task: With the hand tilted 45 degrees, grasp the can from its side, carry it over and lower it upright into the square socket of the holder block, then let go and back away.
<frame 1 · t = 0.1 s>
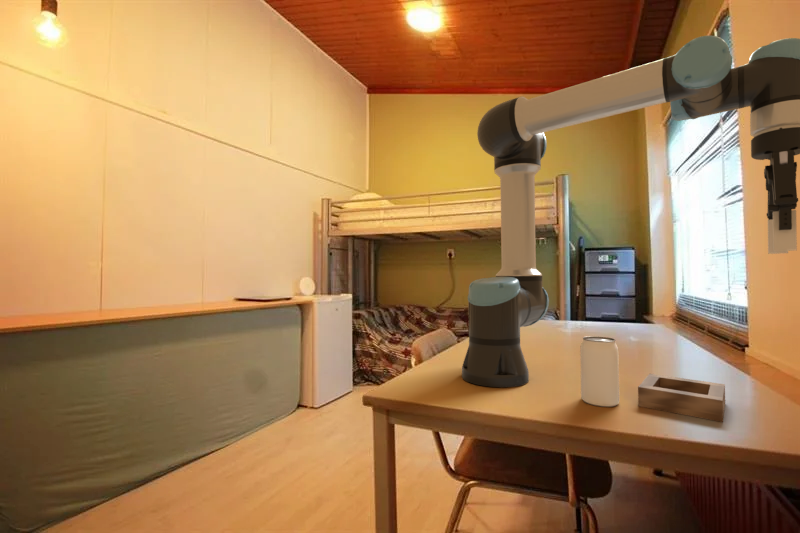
hand: (781, 252, 69), 28 cm above the table, tool pointing down, fingers open, 13 cm apart
holder: (682, 404, 72), on the table
can: (599, 402, 74), on the table
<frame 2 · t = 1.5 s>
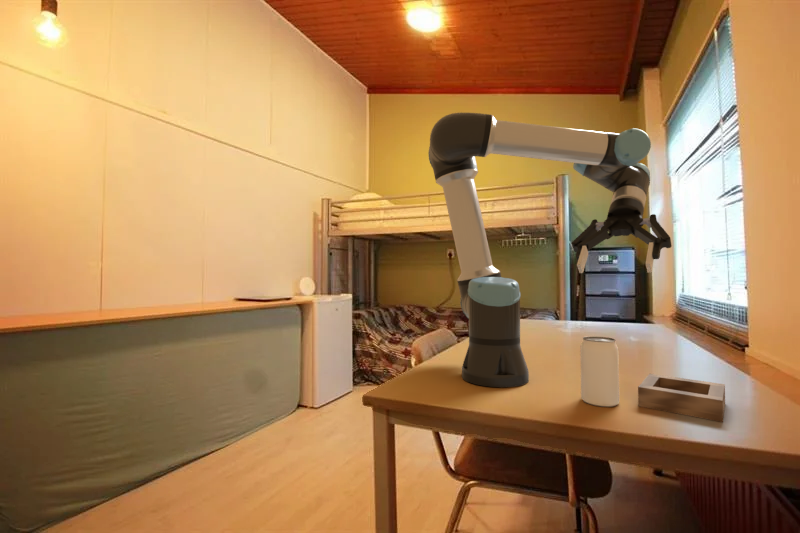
hand: (612, 268, 86), 25 cm above the table, tool tilted 45°, fingers open, 13 cm apart
nothing on the table moved.
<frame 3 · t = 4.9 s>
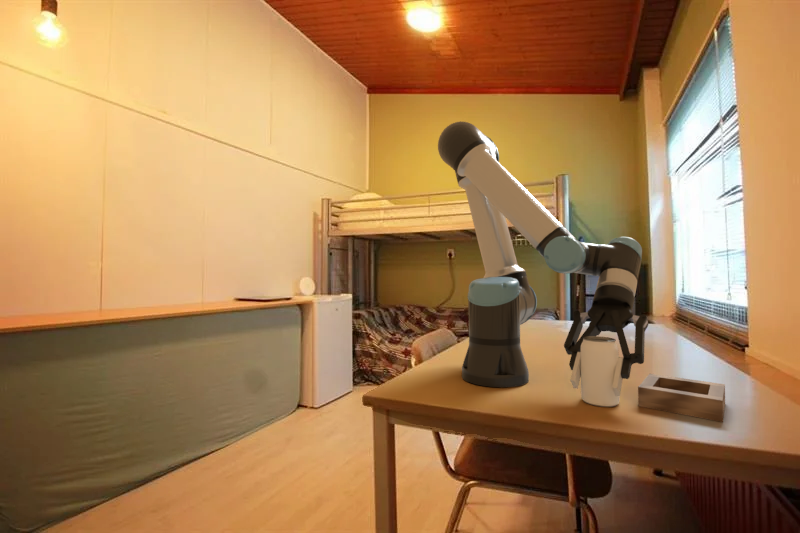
hand: (594, 387, 72), 3 cm above the table, tool tilted 45°, fingers closed on can, 6 cm apart
can: (599, 402, 74), on the table, touching gripper
when the fingers open (6 cm above the table, at t = 9.7 s): can drops 1 cm, resting on holder.
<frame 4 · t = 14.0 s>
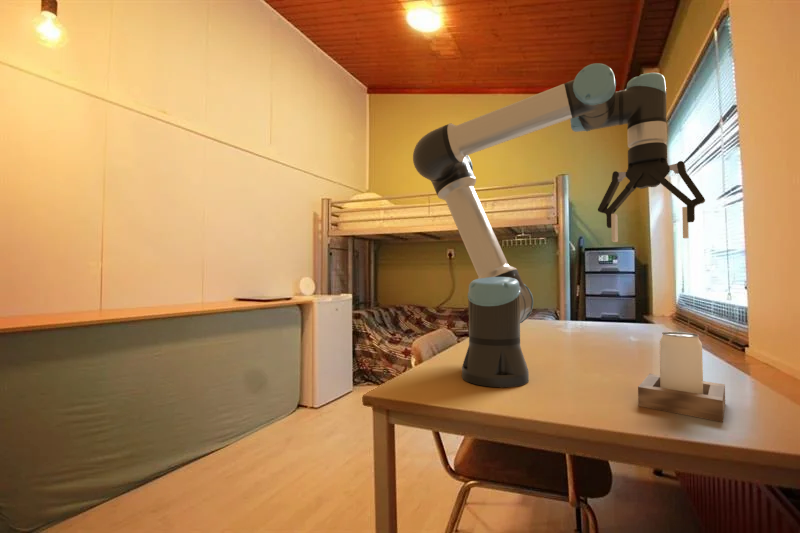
hand: (648, 240, 88), 32 cm above the table, tool pointing down, fingers open, 13 cm apart
can: (681, 399, 72), point 1 cm above the table, touching holder
at the end: can 0.2 cm off-centre on the holder, point 0.8 cm above the holder's base; can tilted 0°; the gripper is holding nothing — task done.
